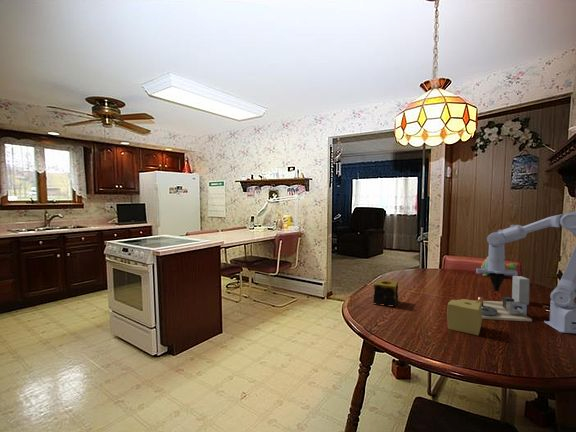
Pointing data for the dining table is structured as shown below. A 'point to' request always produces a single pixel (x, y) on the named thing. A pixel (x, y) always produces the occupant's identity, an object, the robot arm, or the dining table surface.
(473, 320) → the cheese
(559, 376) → the dining table surface
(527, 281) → the skincare box
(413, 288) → the dining table surface
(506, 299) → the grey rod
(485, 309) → the handwheel
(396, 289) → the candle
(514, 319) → the board
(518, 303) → the block
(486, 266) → the turtle holder
